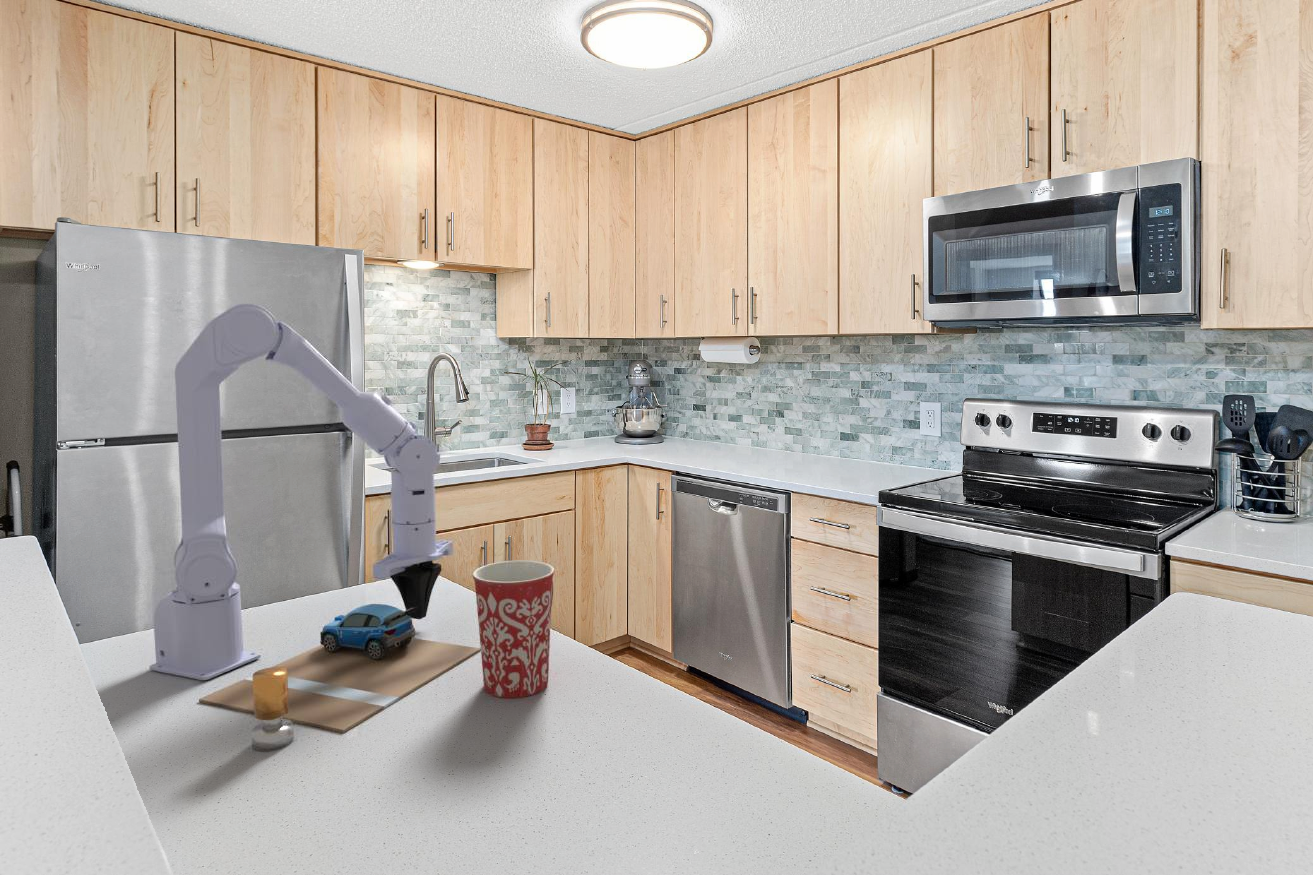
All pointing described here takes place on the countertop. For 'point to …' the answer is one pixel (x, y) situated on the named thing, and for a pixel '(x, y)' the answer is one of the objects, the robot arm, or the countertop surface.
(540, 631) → the mug
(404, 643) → the toy car
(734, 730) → the countertop surface
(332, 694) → the board
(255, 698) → the coffee tamper
